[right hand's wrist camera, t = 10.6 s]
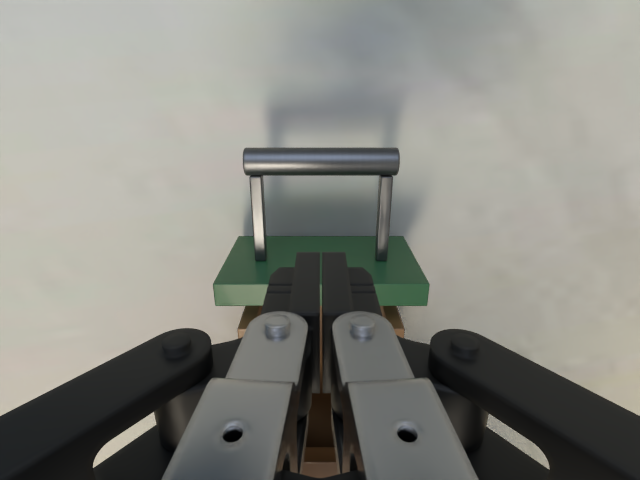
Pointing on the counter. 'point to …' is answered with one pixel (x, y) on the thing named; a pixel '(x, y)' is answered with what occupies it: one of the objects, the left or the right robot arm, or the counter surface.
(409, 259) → the drawer
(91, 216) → the counter surface
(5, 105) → the counter surface
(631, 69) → the counter surface
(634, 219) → the counter surface
